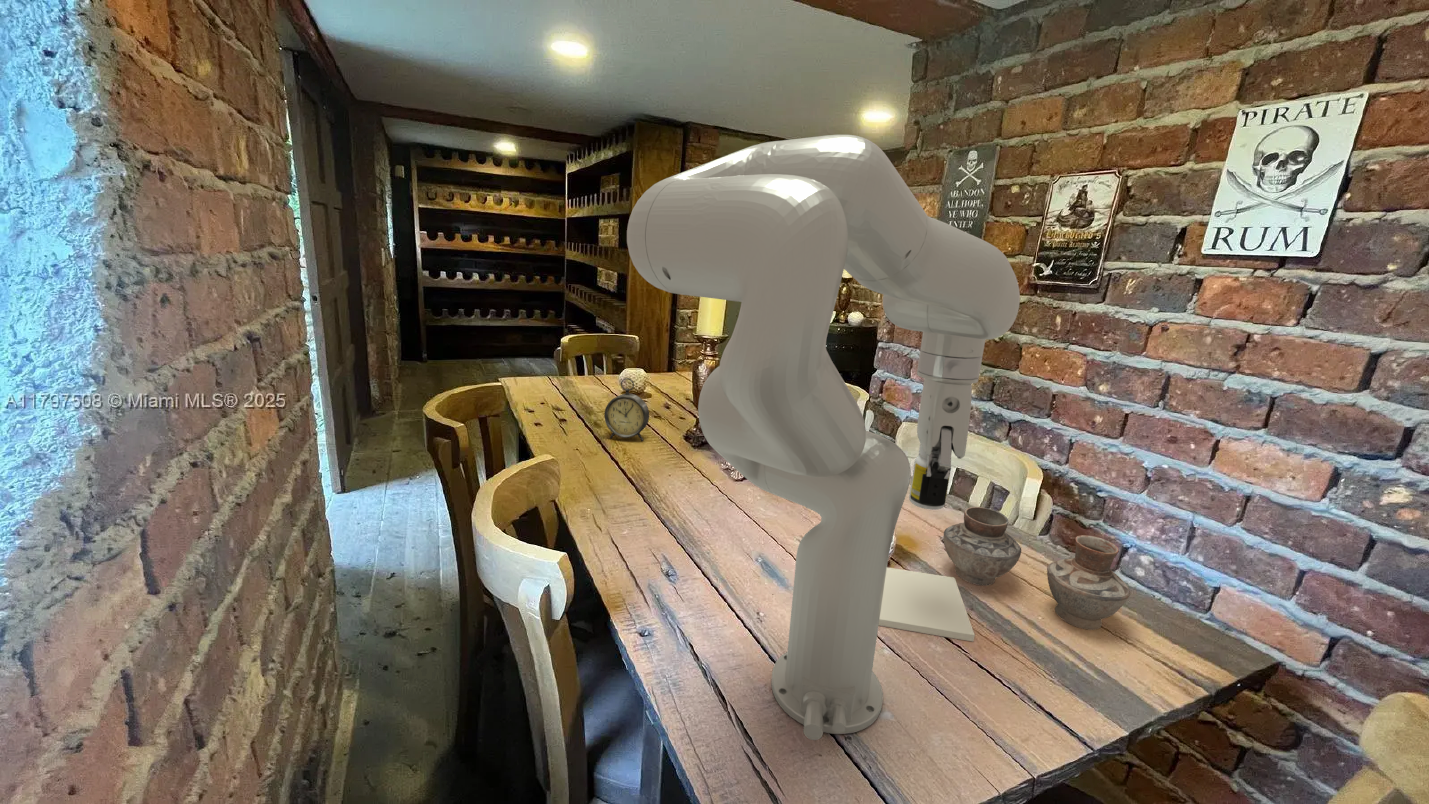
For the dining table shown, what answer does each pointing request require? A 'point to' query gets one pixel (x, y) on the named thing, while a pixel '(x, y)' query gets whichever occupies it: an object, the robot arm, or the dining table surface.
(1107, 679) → the dining table surface
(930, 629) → the cream board
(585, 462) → the dining table surface
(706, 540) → the dining table surface
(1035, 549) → the dining table surface
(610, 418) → the alarm clock
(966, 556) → the pottery
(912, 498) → the supplement bottle
